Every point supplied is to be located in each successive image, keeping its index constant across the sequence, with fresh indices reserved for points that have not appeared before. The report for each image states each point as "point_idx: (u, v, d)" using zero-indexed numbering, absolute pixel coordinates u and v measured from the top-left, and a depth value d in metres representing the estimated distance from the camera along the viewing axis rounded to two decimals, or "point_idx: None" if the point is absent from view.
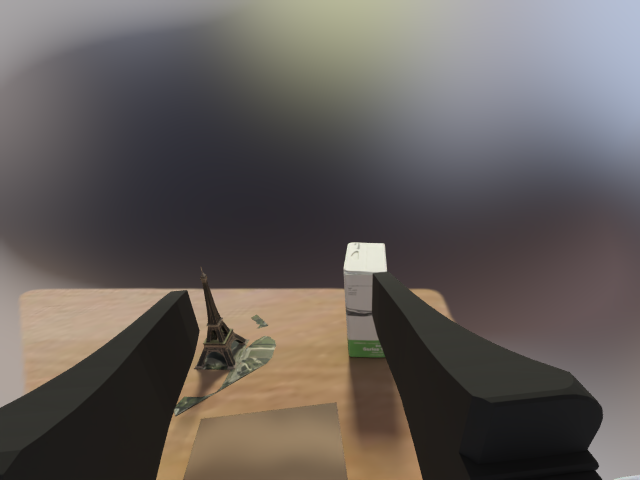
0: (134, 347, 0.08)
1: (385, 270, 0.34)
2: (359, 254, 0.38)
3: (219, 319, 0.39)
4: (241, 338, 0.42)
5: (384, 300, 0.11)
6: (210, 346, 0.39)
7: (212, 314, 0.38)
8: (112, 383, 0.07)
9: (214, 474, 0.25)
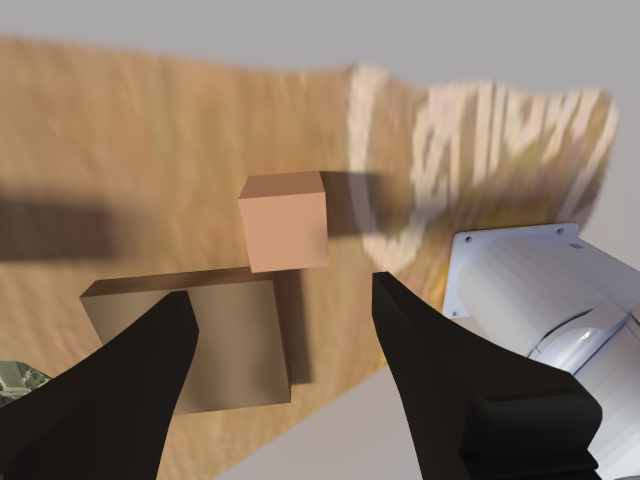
0: (134, 347, 0.08)
1: None
2: None
3: None
4: None
5: (384, 300, 0.11)
6: None
7: None
8: (112, 383, 0.07)
9: (195, 393, 0.26)
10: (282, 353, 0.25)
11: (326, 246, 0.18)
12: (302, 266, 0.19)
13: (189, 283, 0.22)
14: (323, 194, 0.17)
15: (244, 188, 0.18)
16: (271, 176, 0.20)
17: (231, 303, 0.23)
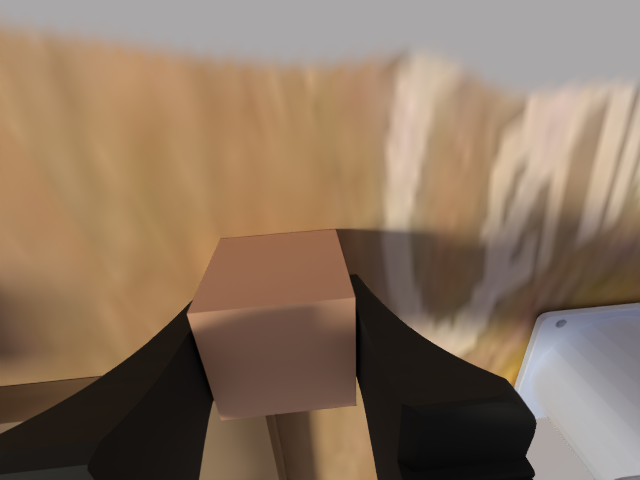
0: (180, 342, 0.08)
1: None
2: None
3: None
4: None
5: None
6: None
7: None
8: (165, 377, 0.07)
9: None
10: None
11: (353, 379, 0.10)
12: (309, 408, 0.11)
13: None
14: (351, 301, 0.09)
15: (206, 276, 0.10)
16: (257, 242, 0.12)
17: None
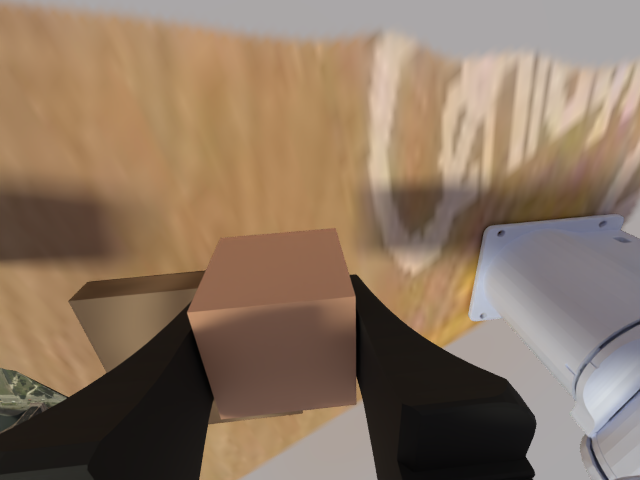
0: (180, 342, 0.08)
1: None
2: None
3: None
4: None
5: None
6: None
7: None
8: (165, 377, 0.07)
9: None
10: None
11: (353, 378, 0.10)
12: (310, 407, 0.11)
13: (191, 284, 0.20)
14: (352, 300, 0.09)
15: (206, 275, 0.10)
16: (257, 241, 0.12)
17: None
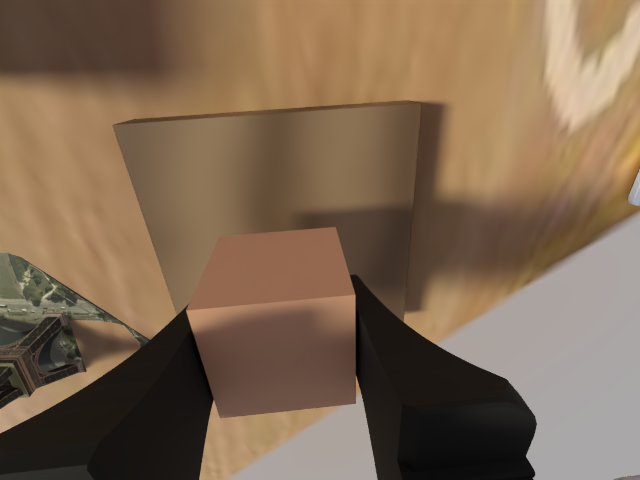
0: (180, 342, 0.08)
1: None
2: None
3: None
4: None
5: None
6: (30, 380, 0.19)
7: None
8: (165, 377, 0.07)
9: None
10: (408, 246, 0.17)
11: (352, 377, 0.10)
12: (309, 406, 0.11)
13: (287, 111, 0.14)
14: (351, 298, 0.09)
15: (205, 273, 0.10)
16: (257, 239, 0.12)
17: (350, 148, 0.14)
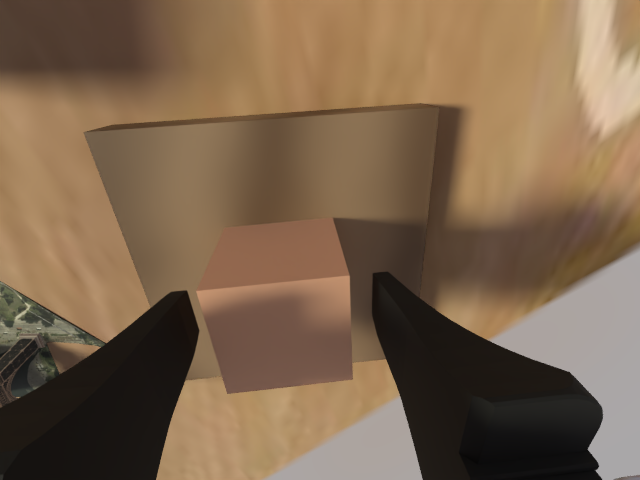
0: (134, 347, 0.08)
1: None
2: None
3: None
4: None
5: (384, 300, 0.11)
6: None
7: None
8: (112, 383, 0.07)
9: None
10: (420, 266, 0.15)
11: (349, 353, 0.11)
12: (309, 382, 0.12)
13: (285, 116, 0.12)
14: (346, 279, 0.10)
15: (212, 259, 0.11)
16: (259, 229, 0.13)
17: (357, 158, 0.13)
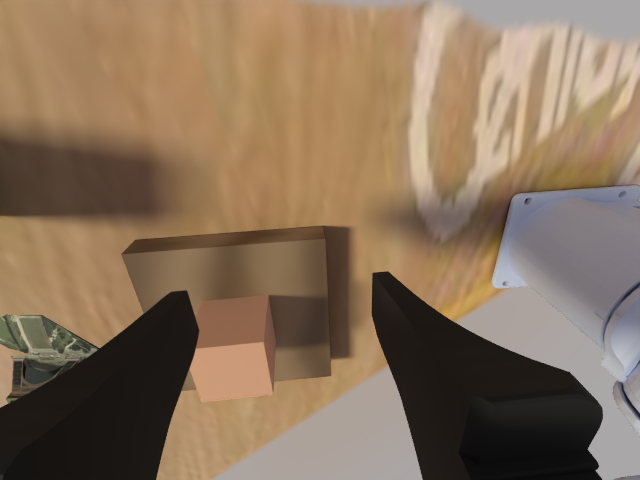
0: (134, 347, 0.08)
1: None
2: None
3: None
4: (15, 370, 0.25)
5: (384, 300, 0.11)
6: None
7: None
8: (112, 383, 0.07)
9: None
10: (327, 321, 0.24)
11: (269, 380, 0.20)
12: (248, 396, 0.20)
13: (237, 241, 0.21)
14: (262, 343, 0.18)
15: None
16: (222, 304, 0.22)
17: (280, 264, 0.21)
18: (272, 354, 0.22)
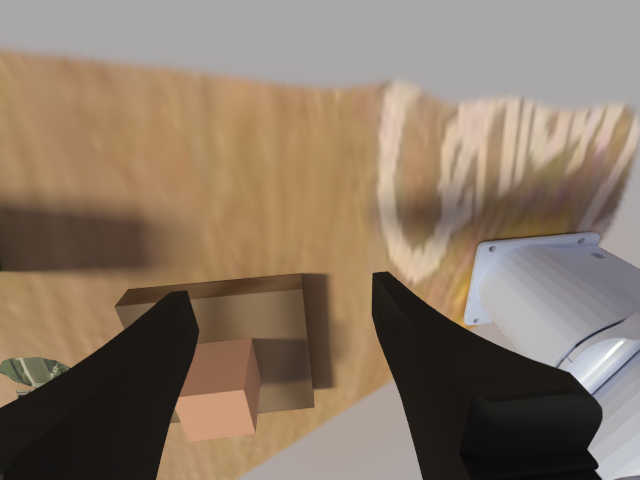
0: (134, 347, 0.08)
1: None
2: None
3: None
4: None
5: (384, 300, 0.11)
6: None
7: None
8: (112, 383, 0.07)
9: None
10: (308, 359, 0.26)
11: (250, 422, 0.22)
12: (232, 435, 0.22)
13: (221, 292, 0.23)
14: (242, 391, 0.20)
15: None
16: (209, 348, 0.23)
17: (261, 312, 0.23)
18: (255, 394, 0.24)
